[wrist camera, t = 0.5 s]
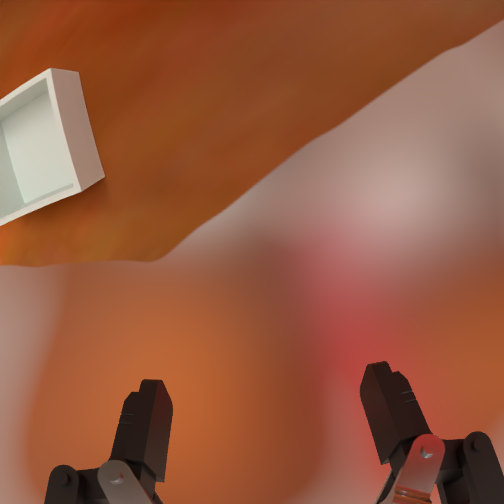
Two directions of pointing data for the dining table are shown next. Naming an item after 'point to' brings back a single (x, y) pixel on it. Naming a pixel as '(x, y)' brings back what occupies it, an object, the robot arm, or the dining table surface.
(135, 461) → the robot arm
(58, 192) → the bin
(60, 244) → the dining table surface
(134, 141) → the dining table surface
